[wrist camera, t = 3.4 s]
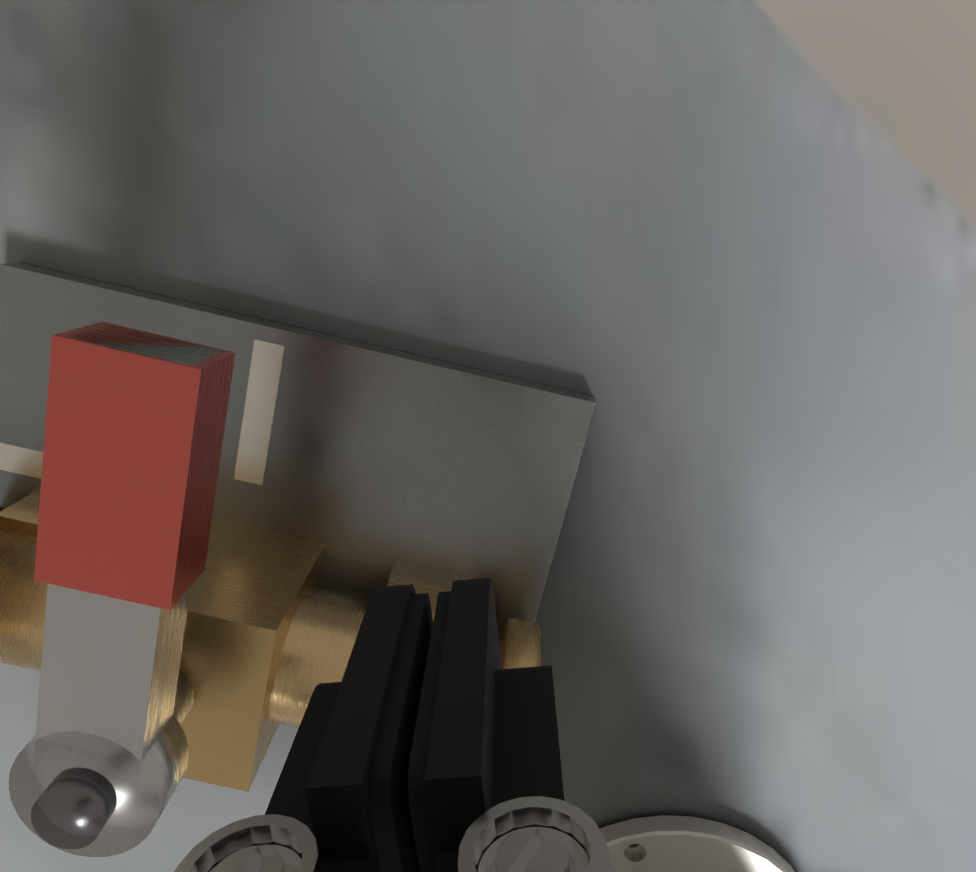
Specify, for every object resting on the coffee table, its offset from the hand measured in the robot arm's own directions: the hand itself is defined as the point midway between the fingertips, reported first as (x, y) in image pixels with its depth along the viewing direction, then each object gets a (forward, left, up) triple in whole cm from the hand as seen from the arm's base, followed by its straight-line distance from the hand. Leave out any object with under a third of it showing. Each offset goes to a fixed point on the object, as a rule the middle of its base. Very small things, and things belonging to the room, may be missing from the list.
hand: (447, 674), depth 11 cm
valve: (+6, +6, -17) cm, 19 cm away
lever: (+7, +4, -7) cm, 11 cm away
